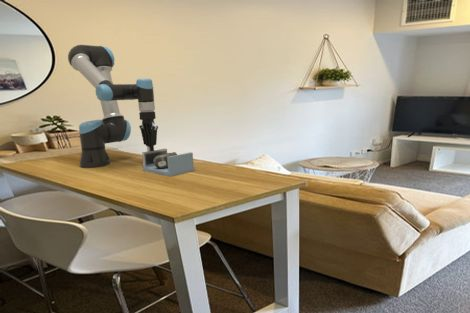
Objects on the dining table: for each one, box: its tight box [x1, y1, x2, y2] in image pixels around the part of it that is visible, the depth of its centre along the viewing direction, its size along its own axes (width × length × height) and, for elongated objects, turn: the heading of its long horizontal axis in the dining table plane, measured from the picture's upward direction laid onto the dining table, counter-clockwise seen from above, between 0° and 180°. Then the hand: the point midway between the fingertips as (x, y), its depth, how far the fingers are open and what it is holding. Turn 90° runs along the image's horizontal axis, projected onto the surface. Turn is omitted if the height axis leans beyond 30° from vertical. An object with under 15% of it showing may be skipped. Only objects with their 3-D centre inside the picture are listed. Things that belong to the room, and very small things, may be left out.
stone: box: [154, 151, 178, 168], centre depth 160 cm, size 14×7×10 cm, turn 137°
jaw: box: [142, 148, 168, 167], centre depth 166 cm, size 2×13×7 cm, turn 138°
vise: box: [141, 152, 195, 177], centre depth 160 cm, size 22×14×8 cm, turn 47°
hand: (151, 159), depth 169 cm, fingers closed
